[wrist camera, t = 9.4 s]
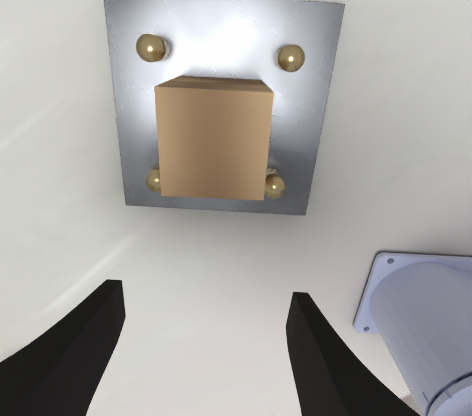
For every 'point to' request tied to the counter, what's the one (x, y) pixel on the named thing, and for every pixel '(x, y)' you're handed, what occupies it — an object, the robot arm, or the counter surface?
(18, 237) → the counter surface
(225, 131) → the oak block
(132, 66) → the plate
